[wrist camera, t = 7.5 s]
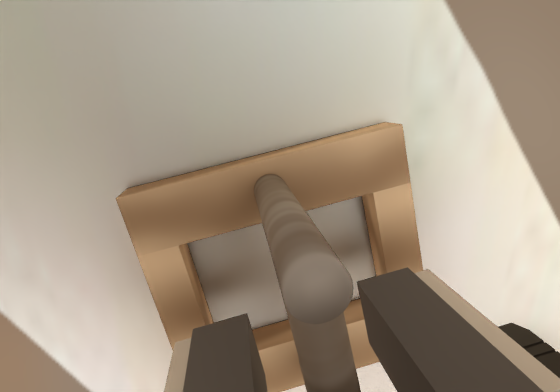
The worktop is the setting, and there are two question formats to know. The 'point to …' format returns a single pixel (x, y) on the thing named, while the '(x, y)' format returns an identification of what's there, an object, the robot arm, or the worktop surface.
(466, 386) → the grey notched block
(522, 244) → the worktop surface
